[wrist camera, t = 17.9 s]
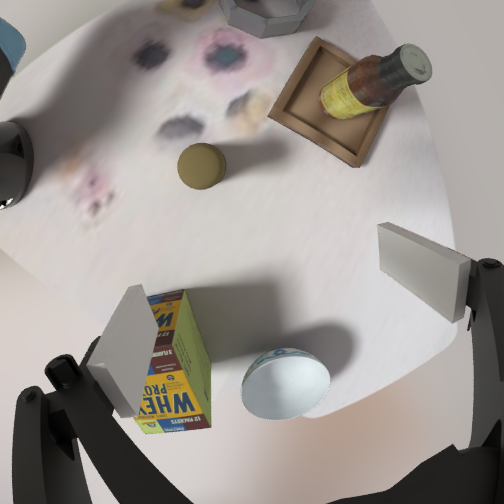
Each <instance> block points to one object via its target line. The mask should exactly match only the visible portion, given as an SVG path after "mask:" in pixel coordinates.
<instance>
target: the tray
mask: <svg viewBox="0 0 504 504" xmlns="http://www.w3.org/2000/svg"><path fill="white" fill-rule="evenodd" d="M356 62H357V61H355V60H354V59H352V58H351V57H349V56H348V55H346V54H345V53H343V52H342V51H340V50H339V49H337V48H336V47H334V46H332V45H331V44H329V43H327V42H326V41H324V40H322V39H321V38H319V37H317V36H316V37H315V38H314V40H313V41H312V42H311V43H310V45H309V47H308V48H307V50H306V52H305V53H304V55H303V56H302V58H301V60H300V61H299V63H298V65H297V66H296V68H295V70H294V71H293V73H292V75H291V76H290V78H289V80H288V82H287V83H286V85H285V87H284V88H283V90H282V92H281V94H280V95H279V97H278V99H277V101H276V102H275V104H274V106H273V108H272V109H271V111H270V113H269V115H268V116H267V117H269V118H271V119H273V120H275V121H277V122H278V123H280V124H282V125H284V126H286V127H287V128H289V129H291V130H293V131H294V132H296V133H298V134H300V135H301V136H303V137H305V138H306V139H308V140H310V141H311V142H313V143H315V144H316V145H318V146H320V147H321V148H323V149H325V150H326V151H328V152H329V153H331V154H332V155H334V156H336V157H337V158H339V159H340V160H342V161H343V162H345V163H346V164H348V165H349V166H351V167H352V168H360V166H361V164H362V162H363V160H364V158H365V156H366V154H367V152H368V150H369V148H370V146H371V144H372V142H373V140H374V138H375V136H376V134H377V131H378V129H379V127H380V125H381V123H382V121H383V119H384V117H385V115H386V112H387V110H388V108H389V106H390V105H388V106H385V107H382V108H379V109H376V110H374V111H371V112H368V113H365V114H362V115H359V116H356V117H354V118H351V119H348V120H335V119H332V118H330V117H329V116H327V115H326V114H325V113H324V112H323V111H322V109H321V107H320V104H319V93H320V90H321V89H322V88H323V87H324V85H325V84H326V83H328V82H329V81H330V80H332V79H333V78H334V77H336V76H337V75H339V74H340V73H341V72H343V71H344V70H346V69H347V68H348V67H350V66H351V65H353V64H354V63H356Z"/></svg>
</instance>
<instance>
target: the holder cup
mask: <svg viewBox="0 0 504 504" xmlns="http://www.w3.org/2000/svg"><path fill="white" fill-rule="evenodd" d="M296 1H297V3H298V5H299V7H300V9H301V11H300V12H299V14H298V15H293V16H284V17H277V18H270V19H265V18H263V17H261V16H259V15H257V14H254V13H252V12H250V11H247V10H245V9H242V8H240V7H237V6H236V4H235V1H234V0H219V2H220V4H221V7H222V9H223V12H224V14H225V17H226V19H227V22H228V24H229V25H231V26H233V27H235V28H238V29H240V30H242V31H245V32H247V33H249V34H251V35H254V36H256V37H258V38H260V39H262V38H267V37H273V36H279V35H286V34H293V33H295V31H296V29H297V28H298V26H299V25H300V23H301V22H302V21H303V19H304V18H305V16H306V15H307V13H308V12H309V10H310V9H311V7H312V6H313V5H314V3H315V2H316V0H296Z"/></svg>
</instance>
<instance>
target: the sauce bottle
mask: <svg viewBox="0 0 504 504" xmlns="http://www.w3.org/2000/svg"><path fill="white" fill-rule="evenodd" d="M431 75H432V66H431V63H430V61H429V59H428V57H427V55H426V54H425V53H424V52H423V50H421V49H420V48H419V47H417V46H415V45H412V44H404V45H402V46H400V47H398V48H397V49H396V50H395V51H394V52H393V53H392V54H390V55H388V56H385V57H381V56H377V55H371V56H367V57H365V58H363V59H361V60H360V61H359V62H356V63H354V64H353V65H351V66H350V67H348V68H347V69H346V70H344V71H343V72H341V73H340V74H339V75H337V76H336V77H334V78H333V79H332V80H330V81H329V82H328V83H326V84H325V85H324V87H323V88H322V89H321V90H320V93H319V104H320V107H321V109H322V111H323V112H324V113H325V114H326V115H327V116H329V117H330V118H332V119H335V120H348V119H351V118H354V117H356V116H359V115H362V114H365V113H368V112H371V111H374V110H376V109H379V108H382V107H385V106H388V105H390V104H392V103H393V102H394V101H395V100H396V99H397V97H398V96H399V95H400V93H401V92H402V91H403V90H404V88H406V87H407V86H410V85H413V84H422V83H424V82H426V81H427V80H429V79H430V78H431Z"/></svg>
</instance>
